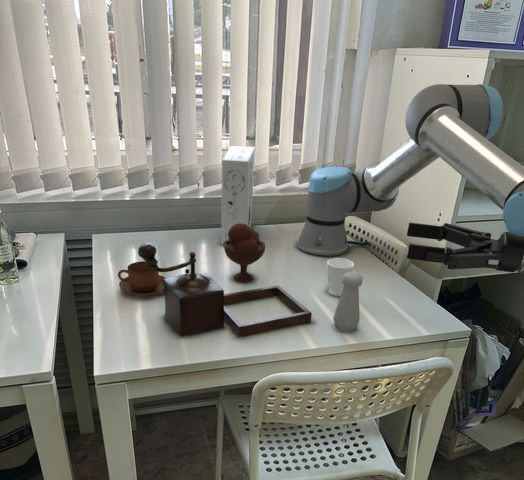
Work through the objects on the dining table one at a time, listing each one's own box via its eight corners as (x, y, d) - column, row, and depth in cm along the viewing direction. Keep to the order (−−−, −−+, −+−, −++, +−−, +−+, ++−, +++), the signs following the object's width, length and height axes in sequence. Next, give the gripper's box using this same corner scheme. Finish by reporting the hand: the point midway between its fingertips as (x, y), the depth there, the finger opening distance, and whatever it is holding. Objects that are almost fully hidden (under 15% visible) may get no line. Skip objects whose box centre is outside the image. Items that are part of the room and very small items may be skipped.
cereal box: (245, 246, 158) (248, 161, 145) (221, 244, 158) (221, 159, 145) (251, 224, 176) (254, 147, 163) (229, 223, 177) (230, 145, 164)
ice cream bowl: (259, 289, 132) (262, 231, 124) (217, 283, 133) (217, 227, 126) (267, 273, 141) (270, 219, 133) (228, 268, 142) (228, 214, 135)
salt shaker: (341, 336, 113) (348, 281, 106) (327, 324, 117) (334, 270, 110) (363, 331, 115) (372, 277, 108) (349, 320, 119) (356, 267, 113)
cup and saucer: (124, 303, 121) (121, 279, 118) (116, 283, 131) (114, 260, 128) (174, 297, 125) (173, 273, 122) (163, 278, 135) (162, 255, 132)
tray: (277, 294, 130) (278, 285, 128) (310, 322, 118) (311, 312, 116) (210, 305, 122) (210, 296, 121) (238, 337, 110) (239, 326, 109)
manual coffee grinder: (206, 307, 122) (205, 233, 112) (225, 328, 113) (226, 250, 104) (141, 319, 115) (134, 241, 106) (156, 342, 107) (151, 260, 98)
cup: (329, 299, 128) (333, 269, 124) (314, 283, 137) (317, 254, 132) (355, 297, 130) (359, 267, 126) (338, 281, 138) (342, 252, 134)
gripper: (526, 297, 91) (404, 281, 95) (504, 249, 112) (404, 237, 116) (540, 257, 87) (412, 242, 91) (514, 215, 108) (411, 204, 112)
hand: (407, 239), depth 103 cm, fingers open, 13 cm apart
